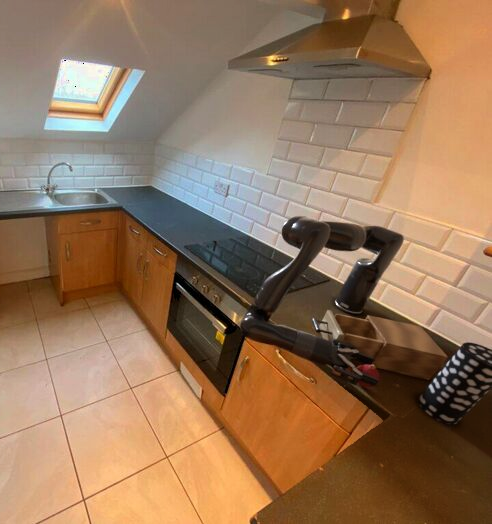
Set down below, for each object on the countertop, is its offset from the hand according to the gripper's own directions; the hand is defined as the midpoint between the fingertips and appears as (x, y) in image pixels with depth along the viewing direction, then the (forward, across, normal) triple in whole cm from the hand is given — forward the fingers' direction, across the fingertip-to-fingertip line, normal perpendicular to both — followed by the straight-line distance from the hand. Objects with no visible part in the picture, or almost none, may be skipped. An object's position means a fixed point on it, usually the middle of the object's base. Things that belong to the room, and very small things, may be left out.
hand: (374, 371), depth 81 cm
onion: (-1, 0, +6) cm, 6 cm away
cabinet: (+9, +19, +6) cm, 22 cm away
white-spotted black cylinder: (+17, +2, +6) cm, 18 cm away
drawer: (-6, +15, +5) cm, 17 cm away
